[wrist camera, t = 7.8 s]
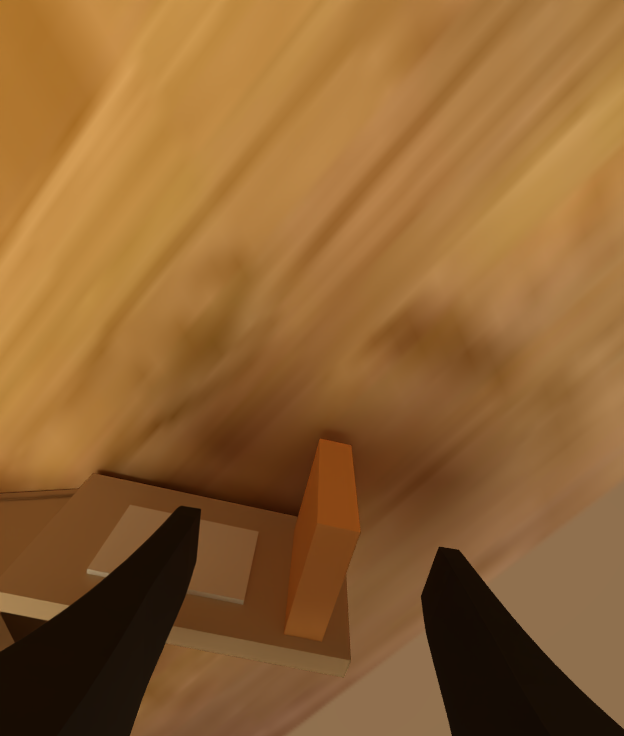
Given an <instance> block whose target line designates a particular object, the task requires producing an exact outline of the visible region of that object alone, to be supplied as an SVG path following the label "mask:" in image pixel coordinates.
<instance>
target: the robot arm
mask: <svg viewBox="0 0 624 736" xmlns="http://www.w3.org/2000/svg"><path fill="white" fill-rule="evenodd" d="M200 518H201V509H199V508H193V507H187V506H179V507H178V508H177V509H176V510H175V511H174V512H173V513H172V514H171V515H170V516H169V517H168V519H167V520H166V521H165V522H164V523H163V524H162V525H161V526H160V527H159V528H158V529H157V530H156V531H155V532H154V533H153V534H152V535H151V536H150V537H149V538H148V539H147V540H146V541H145V542H144V543H143V544H142V545H141V546H140V547H139V548H138V549H137V550H136V551H135V552H134V553H133V554H132V555H130V556H129V557H128V558H127V559H126V560H125V561H124V562H123V563H122V564H120V565H119V566H118V567H117V568H116V569H115V570H113V571H112V572H111V573H110V574H109V575H108V576H107V577H105V578H104V579H103V580H102V581H101V582H99V583H98V584H97V585H96V586H95V587H93V588H92V589H91V590H90V591H88V592H87V593H86V594H84V595H83V596H82V597H81V598H79V599H78V600H77V601H75V602H74V603H73V604H71V605H70V606H69V607H67V608H66V609H64V610H63V611H62V612H60V613H59V614H57V615H56V616H54V617H53V618H51V619H50V620H49V621H47V622H46V623H44V624H43V625H41V626H40V627H38V628H37V629H35V630H34V631H32V632H31V633H29V634H28V635H26V636H25V637H23V638H22V639H20V640H19V641H17V642H15V643H14V644H12V645H10V646H9V647H7V648H5V649H4V650H2V651H0V736H130V733H131V730H132V727H133V724H134V721H135V718H136V716H137V713H138V710H139V707H140V704H141V701H142V698H143V695H144V693H145V690H146V688H147V685H148V683H149V680H150V678H151V675H152V673H153V671H154V668H155V666H156V664H157V662H158V659H159V657H160V655H161V652H162V650H163V648H164V645H165V643H166V641H167V638H168V636H169V634H170V631H171V629H172V627H173V625H174V622H175V620H176V618H177V615H178V613H179V611H180V608H181V606H182V604H183V601H184V599H185V596H186V593H187V590H188V587H189V584H190V581H191V578H192V574H193V571H194V568H195V565H196V561H197V551H198V540H199V529H200ZM421 600H422V608H423V616H424V623H425V629H426V635H427V639H428V643H429V647H430V651H431V655H432V659H433V663H434V667H435V670H436V675H437V678H438V682H439V685H440V690H441V694H442V697H443V702H444V705H445V709H446V713H447V717H448V721H449V725H450V730H451V734H452V736H624V729H623V728H622V727H621V726H620V725H618V724H617V723H616V722H615V721H614V720H613V719H612V718H611V717H609V716H608V715H607V714H606V713H605V712H604V711H603V710H602V709H601V708H600V707H598V706H597V705H596V704H595V703H594V702H593V701H592V700H591V699H590V698H589V697H587V695H586V694H584V693H583V692H582V691H581V690H580V689H579V688H578V687H577V686H576V685H575V684H574V683H573V682H572V681H571V680H570V679H569V678H568V677H567V676H566V675H565V674H564V673H563V672H562V671H561V670H560V669H559V668H558V667H557V666H556V665H555V664H554V663H553V662H552V660H551V659H550V658H549V657H548V656H547V655H546V654H545V653H544V652H543V651H542V650H541V649H540V648H539V646H538V645H537V644H536V643H535V642H534V641H533V640H532V639H531V638H530V636H529V635H528V634H527V633H526V632H525V631H524V630H523V629H522V627H521V626H520V625H519V624H518V623H517V622H516V620H515V619H514V618H513V617H512V616H511V614H510V613H509V612H508V611H507V610H506V608H505V607H504V606H503V605H502V603H501V602H500V601H499V600H498V599H497V597H496V596H495V595H494V594H493V592H492V591H491V590H490V589H489V587H488V586H487V585H486V584H485V582H484V581H483V580H482V578H481V577H480V576H479V575H478V573H477V572H476V571H475V570H474V568H473V567H472V566H471V564H470V563H469V562H468V561H467V559H466V558H465V557H464V556H463V554H462V553H461V552H460V551H459V550H457V549H451V548H444V547H439V548H438V551H437V553H436V556H435V559H434V562H433V564H432V567H431V570H430V573H429V575H428V578H427V581H426V584H425V587H424V589H423V592H422V595H421Z"/></svg>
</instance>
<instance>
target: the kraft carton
mask: <svg viewBox="0 0 624 736" xmlns="http://www.w3.org/2000/svg"><path fill="white" fill-rule="evenodd" d="M77 490H78V489H69V490H51V491H34V492H17V493H0V577H1V575H2V574H3V573H4V572H5V571H6V570H7V569H8V568H9V566H10V565H11V564H12V563H13V562H14V561H15V560H16V559H17V558H18V556H19V555H20V554H21V553H22V552H23V551H24V550H25V549H26V547H27V546H28V545H29V544H30V543H31V542H32V541H33V540H34V539H35V537H36V536H37V535H38V534H39V533H40V532H41V531H42V530H43V528H44V527H45V526H46V525H47V524H48V523H49V522H50V521H51V520H52V518H53V517H54V516H55V515H56V514H57V513H58V512H59V511H60V509H61V508H62V507H63V506H64V505H65V504H66V503H67V502H68V501H69V499H70V498H71V497H72V496H73V495H74V494H75V493H76V492H77ZM47 621H48V620H43V619H37V618H32V617H27V616H22V615H17V614H12V613H6V612H1V611H0V651H2V650H4V649H5V648H7V647H9V646H10V645H12V644H14V643H15V642H17V641H19V640H20V639H22V638H23V637H25V636H26V635H28V634H29V633H31V632H32V631H34V630H35V629H37V628H38V627H40V626H41V625H43V624H44V623H46V622H47Z"/></svg>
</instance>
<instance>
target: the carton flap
mask: <svg viewBox="0 0 624 736" xmlns="http://www.w3.org/2000/svg"><path fill="white" fill-rule="evenodd" d="M179 506H187V507H193V508H199V509H201V518H200V529H199V540H198V551H197V561H196V565H195V568H194V571H193V574H192V578H191V581H190V584H189V587H188V590H187V593H186V596H185V599H184V601H183V604H182V606H181V608H180V611H179V613H178V615H177V618H176V620H175V622H174V625H173V627H172V629H171V631H170V634H169V636H168V638H167V641H166V643H167V644H172V645H177V646H182V647H187V648H193V649H198V650H203V651H208V652H213V653H218V654H224V655H229V656H234V657H239V658H244V659H249V660H255V661H260V662H265V663H270V664H275V665H280V666H286V667H291V668H296V669H301V670H306V671H311V672H317V673H322V674H327V675H332V676H337V677H343V678H344V676H345V674H346V671H347V669H348V666H349V664H350V661H351V655H350V636H349V618H348V599H347V581H346V572H347V569H348V567H349V564H350V561H351V558H352V555H353V552H354V550H355V547H356V544H357V541H358V538H359V536H360V533H361V531H360V522H359V512H358V503H357V493H356V484H355V475H354V465H353V456H352V446H351V445H347V444H343V443H339V442H334V441H330V440H325V439H321V438H320V440H319V443H318V447H317V450H316V454H315V458H314V461H313V465H312V468H311V472H310V475H309V479H308V483H307V486H306V490H305V493H304V497H303V500H302V504H301V508H300V511H299V515H298V517H297V516H292V515H287V514H283V513H278V512H273V511H269V510H264V509H259V508H255V507H250V506H245V505H240V504H236V503H231V502H226V501H222V500H217V499H212V498H208V497H203V496H198V495H193V494H189V493H184V492H179V491H175V490H170V489H165V488H161V487H156V486H151V485H147V484H142V483H137V482H132V481H128V480H123V479H118V478H114V477H109V476H104V475H100V474H95V473H93V474H92V475H91V476H90V477H89V478H88V479H87V480H86V482H85V483H84V484H83V485H82V486H81V487H80V488H79V489H78V490H77V492H76V493H75V494H74V495H73V496H72V497H71V498H70V499H69V501H68V502H67V503H66V504H65V505H64V506H63V507H62V508H61V509H60V511H59V512H58V513H57V514H56V515H55V516H54V517H53V518H52V520H51V521H50V522H49V523H48V524H47V525H46V526H45V527H44V528H43V530H42V531H41V532H40V533H39V534H38V535H37V536H36V537H35V539H34V540H33V541H32V542H31V543H30V544H29V545H28V546H27V547H26V549H25V550H24V551H23V552H22V553H21V554H20V555H19V556H18V558H17V559H16V560H15V561H14V562H13V563H12V564H11V565H10V566H9V568H8V569H7V570H6V571H5V572H4V573H3V574H2V575H1V577H0V611H1V612H6V613H12V614H17V615H22V616H27V617H32V618H37V619H43V620H48V621H49V620H50V619H51V618H53V617H54V616H56V615H57V614H59V613H60V612H62V611H63V610H64V609H66V608H67V607H69V606H70V605H71V604H73V603H74V602H75V601H77V600H78V599H79V598H81V597H82V596H83V595H84V594H86V593H87V592H88V591H90V590H91V589H92V588H93V587H95V586H96V585H97V584H98V583H99V582H101V581H102V580H103V579H104V578H105V577H107V576H108V575H109V574H110V573H111V572H112V571H113V570H115V569H116V568H117V567H118V566H119V565H120V564H122V563H123V562H124V561H125V560H126V559H127V558H128V557H129V556H130V555H132V554H133V553H134V552H135V551H136V550H137V549H138V548H139V547H140V546H141V545H142V544H143V543H144V542H145V541H146V540H147V539H148V538H149V537H150V536H151V535H152V534H153V533H154V532H155V531H156V530H157V529H158V528H159V527H160V526H161V525H162V524H163V523H164V522H165V521H166V520H167V519H168V517H169V516H170V515H171V514H172V513H173V512H174V511H175V510H176V509H177V508H178V507H179Z"/></svg>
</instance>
